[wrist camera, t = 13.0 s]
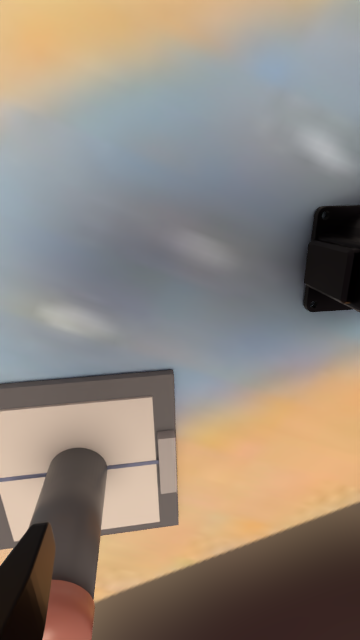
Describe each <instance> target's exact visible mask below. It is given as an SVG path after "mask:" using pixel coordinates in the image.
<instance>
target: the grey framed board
mask: <svg viewBox="0 0 360 640" xmlns="http://www.w3.org/2000/svg"><path fill="white" fill-rule="evenodd" d="M71 448H87V449H90V450H93V451H95V452H97V453H98V454H99V455H101V456H102V457H103V459H104V460H105V462H106V464H107V479H106V488H105V497H104V507H103V516H102V525H101V534H100V536H102V535H109V534H116V533H123V532H130V531H138V530H145V529H152V528H159V527H166V526H174V525H178V494H177V462H176V430H175V398H174V373H173V370H164V371H152V372H140V373H128V374H116V375H104V376H92V377H79V378H67V379H55V380H43V381H31V382H19V383H7V384H0V550H1V549H8V548H14V547H15V546H16V544H17V543H18V542H19V541H20V539H21V538H22V537H23V535H24V534H25V533H26V531H27V530H28V528H29V525H30V522H31V519H32V516H33V513H34V510H35V507H36V504H37V501H38V498H39V495H40V492H41V489H42V486H43V483H44V480H45V477H46V474H47V471H48V468H49V465H50V463H51V461H52V460H53V458H54V457H55V456H56V455H58V454H59V453H61V452H62V451H65V450H67V449H71Z"/></svg>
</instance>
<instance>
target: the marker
mask: <svg viewBox="0 0 360 640" xmlns="http://www.w3.org/2000/svg"><path fill="white" fill-rule="evenodd" d="M106 479H107V464H106V462H105V460H104V459H103V457H102V456H101V455H99V454H98V453H97V452H95V451H93V450H90V449H87V448H71V449H67V450H65V451H62V452H61V453H59V454H58V455H56V456H55V457H54V458H53V460H52V461H51V463H50V465H49V468H48V471H47V474H46V477H45V480H44V483H43V486H42V489H41V492H40V495H39V498H38V501H37V504H36V507H35V510H34V513H33V516H32V519H31V522H30V525H29V527H30V526H31V525H32V524H34V523H37V522H45V521H49V522H50V524H51V527H52V531H53V536H54V540H55V558H54V565H53V573H52V580H51V588H50V595H49V603H48V610H47V617H46V624H45V630H44V634H43V639H42V640H91V639H92V628H93V620H94V610H95V605H94V601H93V599H94V590H95V581H96V571H97V562H98V553H99V544H100V534H101V525H102V516H103V507H104V497H105V488H106ZM28 529H29V528H28Z"/></svg>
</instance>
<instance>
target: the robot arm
mask: <svg viewBox="0 0 360 640" xmlns="http://www.w3.org/2000/svg"><path fill="white" fill-rule="evenodd" d="M324 211H325V212H326V217H325V218H324V219H322V213H323V212H324ZM304 283H305V284H306V288H305V296H304V307H305V308H306V309H307V310H309V311H310V312H320V311H335V310H350V309H354V310H356V311H358V312H360V205H354V206H322V207H319V208H318V209H317V210H316V212H315V214H314V221H313V230H312V238H311V242H310V243H309V245H308V253H307V262H306V270H305V279H304ZM312 301H314V302H315V303H314V305H313V306H311V307H310V304H311V302H312ZM54 558H55V540H54V536H53V531H52V527H51V524H50V522H49V521H45V522H37V523H34V524H32V525H31V526H30V527H29V529H28V530H27V531H26V533H25V534H24V535H23V537H22V538H21V539H20V541H19V542H18V543H17V544H16V546H15V547H14V548H13V550H12V551H11V552H10V554H9V555H8V556H7V558H6V559H5V560H4V562H3V563H2V564H1V566H0V640H42V639H43V634H44V630H45V624H46V617H47V610H48V603H49V595H50V588H51V580H52V573H53V565H54Z"/></svg>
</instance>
